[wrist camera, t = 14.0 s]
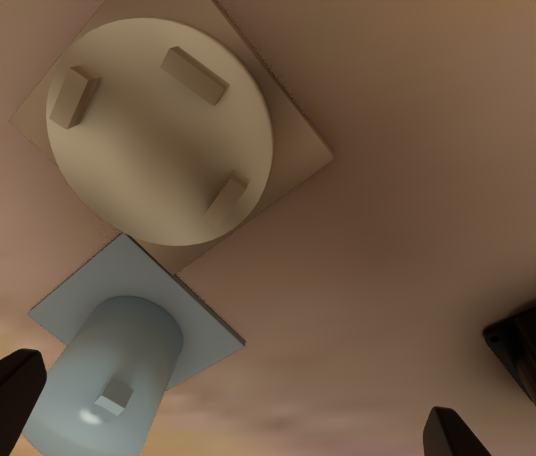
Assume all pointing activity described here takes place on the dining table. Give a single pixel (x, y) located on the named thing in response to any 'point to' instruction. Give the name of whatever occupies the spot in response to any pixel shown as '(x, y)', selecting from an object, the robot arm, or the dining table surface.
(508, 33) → the dining table surface
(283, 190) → the turntable base
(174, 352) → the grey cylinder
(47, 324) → the mat
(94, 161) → the turntable
